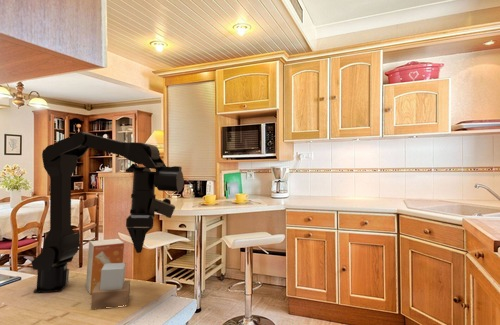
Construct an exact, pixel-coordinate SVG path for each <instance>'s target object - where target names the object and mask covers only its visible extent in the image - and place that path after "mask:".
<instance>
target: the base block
mask: <svg viewBox="0 0 500 325" xmlns="http://www.w3.org/2000/svg"><path fill="white" fill-rule="evenodd" d="M100 283H101V282H98V283H97V285H96V286H95V288H94V290H93V292H92V294H91V301H90V302H91V304H90V310H91V309H92V310H96V309H95V308H105V309H107V308H106V307H118V306H123V305H124V306H125V305H127V306H128V304H129V300H128V299H129V298H130V296H129V294H131V279H130V280H127V279H126V280H124V285H123V288H122V289H117V290H101V291H100ZM127 303H128V304H127ZM118 308H119V307H118Z"/></svg>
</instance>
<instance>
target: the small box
mask: <svg viewBox="0 0 500 325" xmlns="http://www.w3.org/2000/svg"><path fill="white" fill-rule="evenodd" d="M124 249H125V242H124V241H123V240H121V239H119V238H112V239H109V238H108V239H100V240H99V239H98V240H90V241H88V251H87V252H88V254H87V266H86V280H85V288H86V290H87V291H88V292H89V294H90V295H92V292H93V290H94V288H95V286H96V285H97V283H98V282H101V270H102V268H103V266H104V265H105V264H109V263H124V252H125V250H124Z"/></svg>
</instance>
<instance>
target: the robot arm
mask: <svg viewBox="0 0 500 325" xmlns="http://www.w3.org/2000/svg"><path fill="white" fill-rule="evenodd" d="M158 148H159V147H157V146H156V145H153V144H149V143H146V142H135V141H134V142H133V141H131V142H130V141H128V142H127V141H126V142H125V141H121V140H115V139H111V138H107V137H104V136H99V135H95V134H93V133H90V132H85V131H77V132H75V133H73V134H72V135H71V136H68V137H66V138H63V139H61V140H57V141H55V143H53V144H49V145H47V146H46V147H45V149H43V150H42V154H41V157H42V158H41V159H42V164H43V168H44V170H45V172H46V173H47V174H48V177H49V231H48V233H47V234H46V237H45V238H44V240H43V243H42V244H43V245H42V248H41V249H42V251H41V252H40V254H38V255H37V256H36V257H34V259H33V260H31V266H32V269H33V270H34V271H35V270H36V271H37V275H36V276H37V277H36V278H37V279H36V288H35V289H34V290H33V293H35V294H36V293H38V294H39V293H50V292H51V293H54V292H62V291H63V290H64V288H66V286H67V285H68V283H69V278H70V277H69V275H70V269H69V268H68V263H71V262H72V261H73V258H74V256H75V255H76V254H77V253H78V252H79V248H80V247H81V244H80V237H81V234H80V232H75V231H74V229H73V228H72V176H73V174H74V172H75V171H76V169H77V165H78V161H79V160H78V159H80V158H81V157H83V156H85V154H86V153H87V152H88V150H89V149H94V150H99V151H103V152H106V153H110V154H114V155H117V156H118V155H119V156H121V157H123V158H125V159H126V160H128V161H130V162H132V164H131V165H130V166H129V167H127V168H126V169H125V173H133V174H132V175H133V176H132V192H131V195H130V198H131V206H130V209H129V210H130V211H129V215H128V216H127V217H126V219H125V220H126V221H125V227H126V229H127V230H126V231H127V232H128V234H129V237H130V239H131V241H132V243H133V244H132V245H133V246H134V250H135V252H136V253H137V254H140V253H142V251H143V246H144V242H145V239H146V236H147V233H148V232H149V231H150V230H152V229H153V227H154V222H155V220H154V219H155V213H156V214H160V215H162V216H164V217H166V218H168V219H171V218H172V216H173V214H174V212H175V209H176V206H175V205H174V204H172V203H171V199H169V198H167V197H165V198H164V199H163V200H161V199H159V198H158V199H157V195H156V194H155V192H156V190H155V189H157V190H158V191H159V192H160V191H161V192H173V193H174V192H175V193H181V192H182V190H183V188H184V184H185V178H184V174H183V170H182V168H183V167H182V166H178V165H177V166H176V165H175V166H174V165H173V166H167V165H166V164H165V162H164V160H163V159H162V157H161V154H160V153H161V152H160V150H159V149H158ZM139 165H143V166H139ZM153 169H155V170H154V171H153Z"/></svg>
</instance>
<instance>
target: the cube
mask: <svg viewBox="0 0 500 325" xmlns="http://www.w3.org/2000/svg"><path fill="white" fill-rule="evenodd" d="M125 276H126V262H123V263H109V264H105V265H104V266H103V268H102V270H101V283H100V291H101V290H117V289H122V288H123V285H124V281H125V278H126V277H125Z"/></svg>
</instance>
